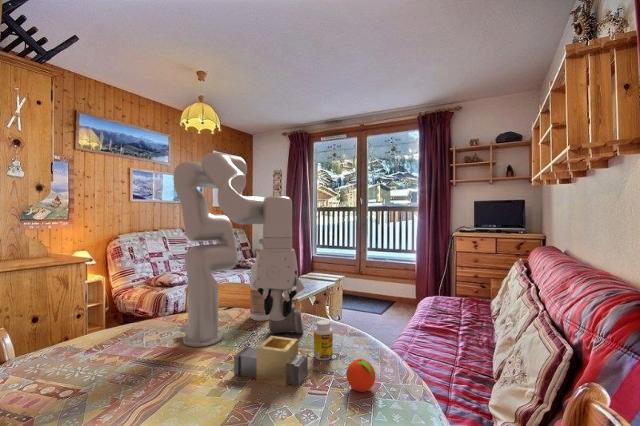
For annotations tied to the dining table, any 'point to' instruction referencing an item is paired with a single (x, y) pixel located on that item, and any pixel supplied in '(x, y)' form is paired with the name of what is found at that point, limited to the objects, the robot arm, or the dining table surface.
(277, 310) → the rook chess piece
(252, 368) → the valve body
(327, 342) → the supplement bottle
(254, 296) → the fruit juice
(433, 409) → the dining table surface
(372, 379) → the clementine
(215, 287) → the robot arm
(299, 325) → the pipe fitting
